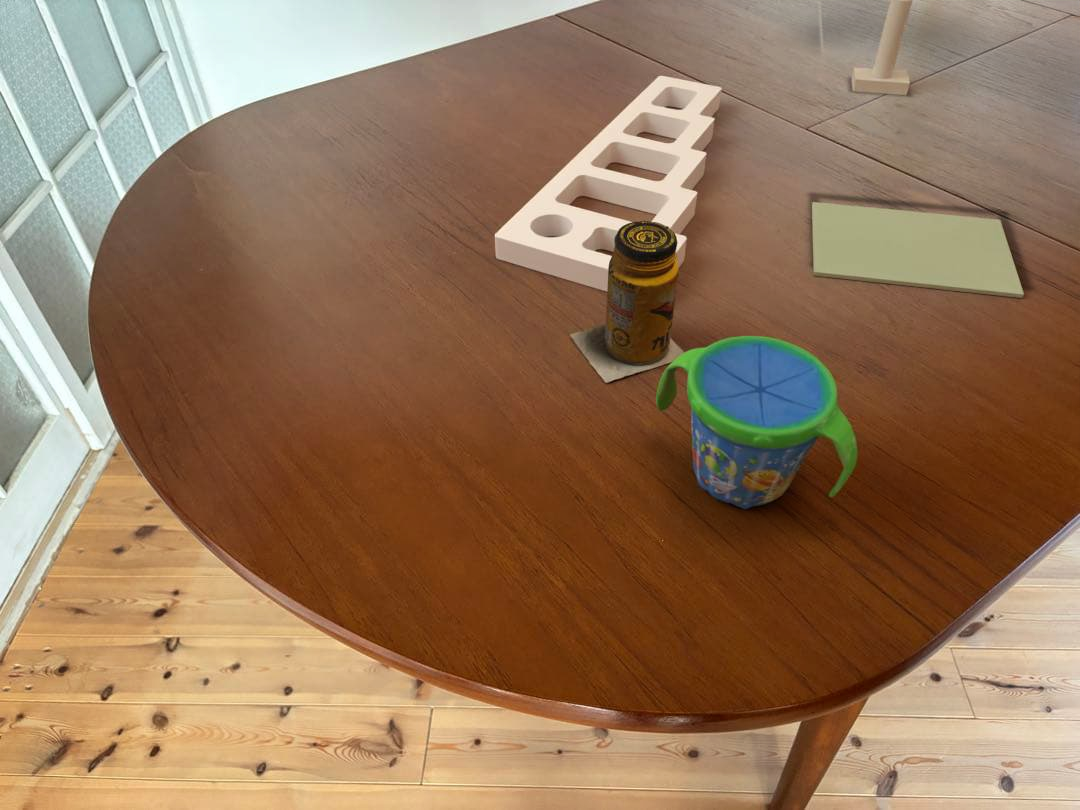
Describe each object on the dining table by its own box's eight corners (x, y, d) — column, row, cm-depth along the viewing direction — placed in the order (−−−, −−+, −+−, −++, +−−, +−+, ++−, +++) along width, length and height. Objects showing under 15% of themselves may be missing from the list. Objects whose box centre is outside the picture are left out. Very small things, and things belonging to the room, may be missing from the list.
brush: (901, 92, 119) (929, -7, 110) (904, 104, 116) (933, 4, 107) (849, 88, 120) (872, -10, 111) (850, 100, 117) (874, 0, 108)
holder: (658, 94, 119) (659, 75, 117) (785, 120, 113) (789, 100, 111) (494, 257, 91) (493, 235, 89) (651, 305, 84) (654, 282, 83)
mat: (998, 223, 94) (1000, 219, 94) (1022, 298, 84) (1024, 294, 84) (811, 205, 97) (812, 201, 97) (813, 275, 88) (814, 271, 87)
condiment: (687, 357, 79) (703, 246, 70) (605, 384, 76) (611, 272, 68) (647, 313, 83) (657, 204, 75) (569, 337, 81) (571, 227, 73)
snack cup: (863, 491, 67) (900, 396, 60) (788, 571, 61) (818, 477, 54) (702, 396, 75) (717, 302, 68) (622, 460, 69) (630, 365, 62)
